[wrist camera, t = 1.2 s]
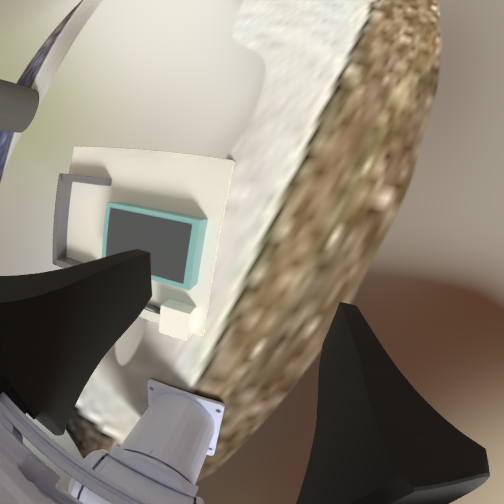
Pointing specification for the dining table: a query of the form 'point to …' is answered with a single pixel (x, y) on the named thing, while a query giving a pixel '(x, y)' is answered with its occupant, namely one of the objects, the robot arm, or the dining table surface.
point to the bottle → (16, 106)
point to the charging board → (149, 195)
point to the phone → (157, 240)
